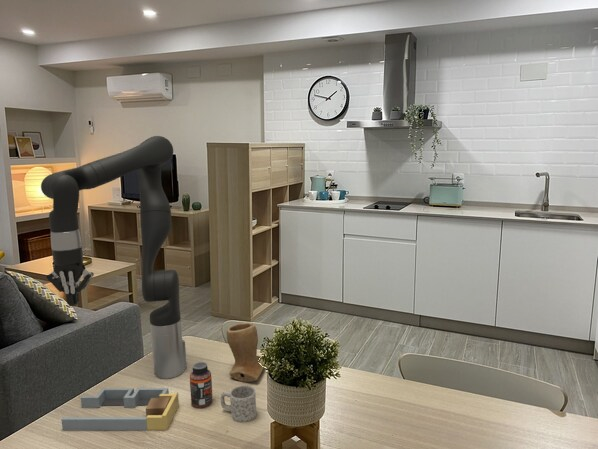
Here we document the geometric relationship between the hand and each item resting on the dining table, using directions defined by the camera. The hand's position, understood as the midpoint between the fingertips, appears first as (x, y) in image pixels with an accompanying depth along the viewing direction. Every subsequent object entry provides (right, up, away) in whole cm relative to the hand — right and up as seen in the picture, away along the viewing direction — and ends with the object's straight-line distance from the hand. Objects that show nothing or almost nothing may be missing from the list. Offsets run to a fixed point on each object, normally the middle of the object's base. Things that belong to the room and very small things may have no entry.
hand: (73, 305), depth 132 cm
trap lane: (+15, -28, -6) cm, 33 cm away
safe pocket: (+28, -28, -9) cm, 41 cm away
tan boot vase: (+47, -24, +15) cm, 55 cm away
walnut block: (+27, -29, -9) cm, 40 cm away
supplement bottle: (+37, -27, -2) cm, 46 cm away
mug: (+48, -28, -7) cm, 56 cm away
